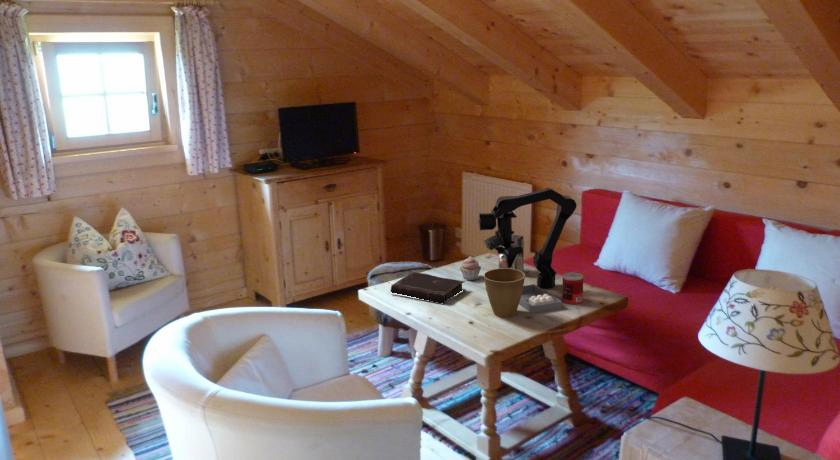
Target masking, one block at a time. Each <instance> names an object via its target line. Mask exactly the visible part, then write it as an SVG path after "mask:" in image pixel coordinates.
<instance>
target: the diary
mask: <svg viewBox="0 0 840 460" xmlns="http://www.w3.org/2000/svg"><path fill="white" fill-rule="evenodd" d="M465 282H466V280H458V279H452V278H446V277H441V276H440V277H439V276H437V275H432V274H428V273H422V272H417V271H412V272H411V273H409V274H407V275H406V276H404V277H402V278H401V279H399V280H398V281H396V282H395V283H393V284H391V286H390V293H391V292H392V293H397V294H402V295H407V296H411V297H416V298H419V299H424V300H429V301H428V302H430V301H433V302H432V303H435V302H438V303H437V304H440V303H443V304H442V305H446V302H448V301H449V300H451V299H452V298H454V297H453V296H454V295H456V294H457V293H459V292H460V291H462V290H463V291H464V292H465V290H466V288H463V283H465ZM451 297H452V298H451ZM450 298H451V299H450ZM448 299H449V300H448ZM424 300H423V301H424ZM447 300H448V301H447Z"/></svg>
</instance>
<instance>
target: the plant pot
mask: <svg viewBox="0 0 840 460" xmlns="http://www.w3.org/2000/svg"><path fill="white" fill-rule="evenodd" d="M525 277H526V273H524V271H520V270H516V269H511V268H499V267H498V268H494V269H490V270H487V271H485V272H484V274H483V278H484V279H483V280H484V284H485V290H486V294H487V298H488V300H489V301H488V302H489V303H490V307H491V310H492V312H493V314H494V315H495V317H498V318H499V317H500V318H511V317H514V316H515V315H516V313H517V311H518V307H519V306H520V305H519V302H520V299H521V295H522V291H523V286H525V285H524V284H525Z"/></svg>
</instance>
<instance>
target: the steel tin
mask: <svg viewBox="0 0 840 460" xmlns="http://www.w3.org/2000/svg"><path fill="white" fill-rule="evenodd" d="M503 253H504V252H501V253H499V256H498V268H508V265H507V259H506V255H504V254H503ZM511 269H513V264H512V266H511Z"/></svg>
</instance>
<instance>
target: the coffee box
mask: <svg viewBox="0 0 840 460" xmlns="http://www.w3.org/2000/svg"><path fill="white" fill-rule="evenodd" d="M512 240H513V241H514V244H511V245H515V244H517V245H519V246H521V247H522V248H523V253H521V254H517V256H516V258H515V260H514V262H513V269H516V270H520V271H522V272H524V270H525V269H524V267H525V266H524V262H525V261H524V256H525V255H524V254H525V253H524V251H525V250H524V244H525V243H524V235H519V234H517V235H516V234H512Z"/></svg>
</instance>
